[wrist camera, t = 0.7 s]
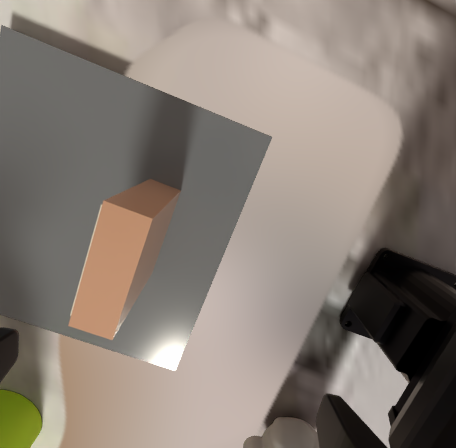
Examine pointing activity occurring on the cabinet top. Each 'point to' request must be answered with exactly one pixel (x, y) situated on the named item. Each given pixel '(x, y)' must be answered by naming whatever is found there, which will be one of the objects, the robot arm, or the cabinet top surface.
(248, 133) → the slate board
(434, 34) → the cabinet top surface
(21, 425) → the soap dispenser
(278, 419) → the grey lumpy pointed piece
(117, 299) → the tile
